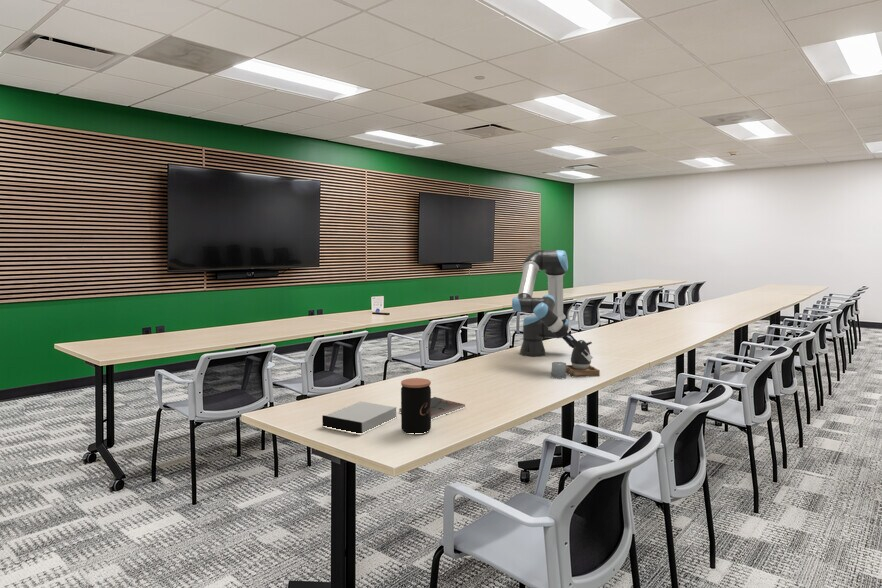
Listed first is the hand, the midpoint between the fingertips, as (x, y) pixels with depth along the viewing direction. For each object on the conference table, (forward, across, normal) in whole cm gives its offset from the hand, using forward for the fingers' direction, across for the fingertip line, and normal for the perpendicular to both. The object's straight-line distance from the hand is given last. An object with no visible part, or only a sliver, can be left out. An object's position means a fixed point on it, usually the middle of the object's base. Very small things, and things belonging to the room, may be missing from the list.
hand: (587, 357), depth 287 cm
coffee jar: (-61, +77, -73) cm, 123 cm away
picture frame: (-55, +54, -68) cm, 102 cm away
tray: (+4, 0, -8) cm, 9 cm away
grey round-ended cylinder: (-6, +6, -18) cm, 20 cm away
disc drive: (-75, +65, -88) cm, 133 cm away
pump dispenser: (+2, 0, -7) cm, 7 cm away
